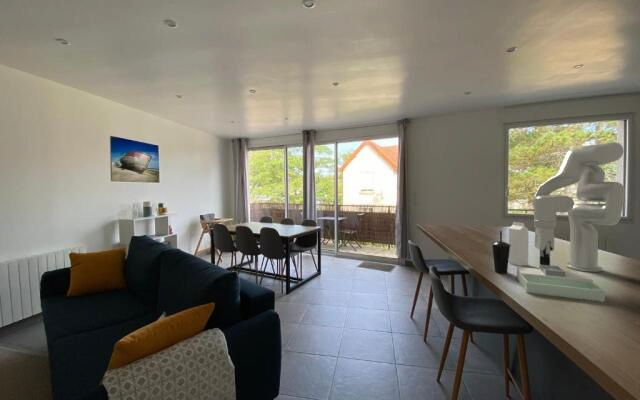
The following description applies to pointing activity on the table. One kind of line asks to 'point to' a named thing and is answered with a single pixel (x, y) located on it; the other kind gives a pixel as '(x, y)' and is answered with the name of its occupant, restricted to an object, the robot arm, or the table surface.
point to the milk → (518, 244)
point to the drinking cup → (501, 255)
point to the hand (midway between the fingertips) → (544, 264)
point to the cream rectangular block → (538, 273)
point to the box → (563, 288)
